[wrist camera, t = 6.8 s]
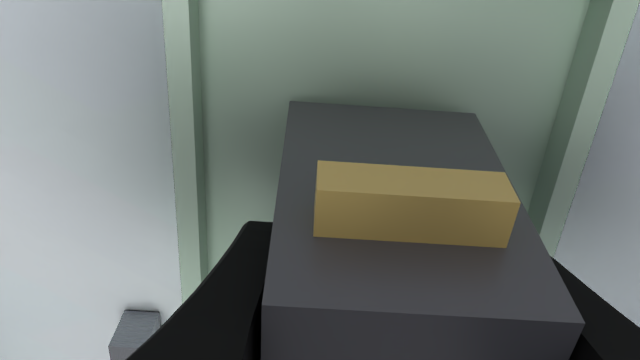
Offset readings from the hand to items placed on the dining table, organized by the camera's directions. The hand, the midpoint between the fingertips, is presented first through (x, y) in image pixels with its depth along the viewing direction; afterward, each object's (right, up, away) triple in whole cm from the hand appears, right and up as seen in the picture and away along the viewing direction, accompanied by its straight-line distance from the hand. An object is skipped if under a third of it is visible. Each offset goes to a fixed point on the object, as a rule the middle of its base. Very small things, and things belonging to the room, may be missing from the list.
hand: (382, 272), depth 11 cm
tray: (0, +2, +3) cm, 4 cm away
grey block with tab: (0, 0, +3) cm, 3 cm away
